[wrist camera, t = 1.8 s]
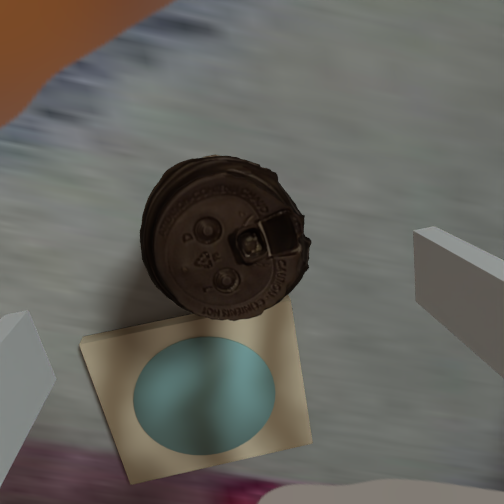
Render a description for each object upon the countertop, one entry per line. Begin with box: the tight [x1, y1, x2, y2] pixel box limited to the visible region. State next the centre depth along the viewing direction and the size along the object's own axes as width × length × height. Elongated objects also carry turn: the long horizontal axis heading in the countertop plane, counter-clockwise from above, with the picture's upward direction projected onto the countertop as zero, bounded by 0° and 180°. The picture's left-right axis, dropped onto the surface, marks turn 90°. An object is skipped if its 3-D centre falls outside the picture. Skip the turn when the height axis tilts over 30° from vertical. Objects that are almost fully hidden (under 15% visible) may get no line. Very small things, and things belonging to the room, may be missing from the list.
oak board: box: [79, 295, 313, 485], centre depth 36 cm, size 17×15×1 cm
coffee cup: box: [140, 155, 311, 321], centre depth 25 cm, size 9×8×13 cm
